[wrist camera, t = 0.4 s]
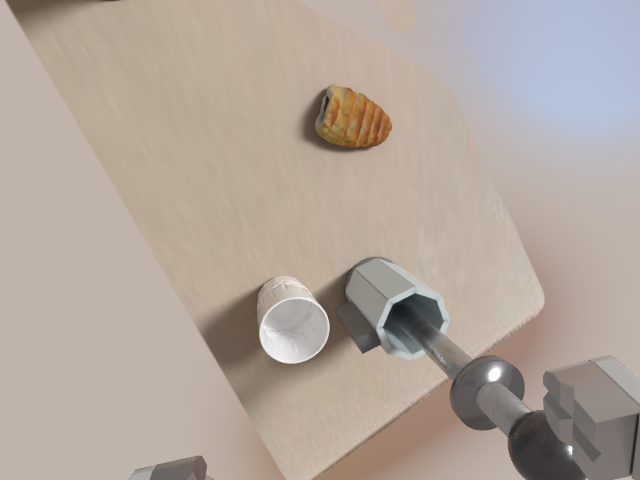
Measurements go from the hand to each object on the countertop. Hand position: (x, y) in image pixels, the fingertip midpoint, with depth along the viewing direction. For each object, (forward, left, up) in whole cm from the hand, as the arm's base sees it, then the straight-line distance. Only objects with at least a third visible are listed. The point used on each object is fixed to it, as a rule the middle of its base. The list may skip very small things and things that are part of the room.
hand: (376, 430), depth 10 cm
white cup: (+14, -2, -46) cm, 48 cm away
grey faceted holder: (+19, +9, -46) cm, 50 cm away
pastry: (-4, +15, -46) cm, 49 cm away
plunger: (+19, +10, -36) cm, 41 cm away
